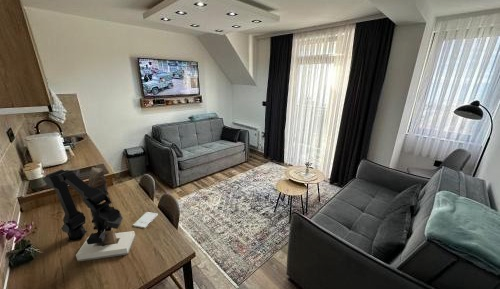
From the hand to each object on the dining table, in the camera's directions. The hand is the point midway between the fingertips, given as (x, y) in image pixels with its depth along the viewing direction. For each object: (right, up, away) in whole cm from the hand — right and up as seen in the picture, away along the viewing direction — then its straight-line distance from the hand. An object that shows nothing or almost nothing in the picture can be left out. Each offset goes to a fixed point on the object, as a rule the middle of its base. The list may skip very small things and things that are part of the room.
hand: (106, 240), depth 105 cm
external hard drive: (+9, +2, +22) cm, 24 cm away
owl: (-39, +12, +47) cm, 62 cm away
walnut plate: (0, -4, +1) cm, 4 cm away
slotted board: (0, -5, +2) cm, 5 cm away
